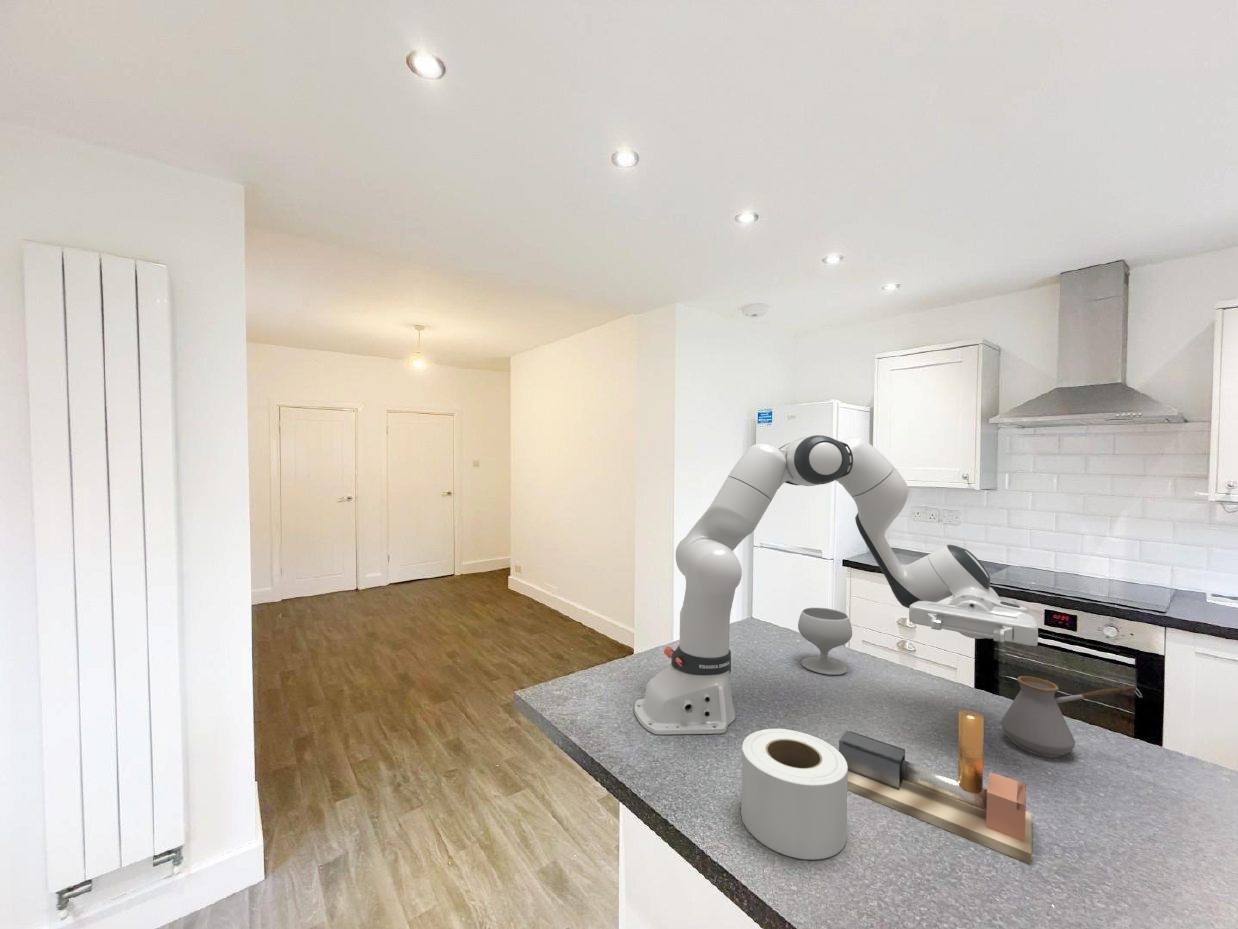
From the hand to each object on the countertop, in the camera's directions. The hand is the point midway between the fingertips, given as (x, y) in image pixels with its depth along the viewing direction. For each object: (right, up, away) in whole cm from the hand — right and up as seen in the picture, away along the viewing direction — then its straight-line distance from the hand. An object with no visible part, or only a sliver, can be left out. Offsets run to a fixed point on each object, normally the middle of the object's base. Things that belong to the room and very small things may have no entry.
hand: (966, 631), depth 90 cm
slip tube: (-10, -23, -10) cm, 27 cm away
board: (-12, -26, -8) cm, 30 cm away
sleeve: (-19, -24, -3) cm, 31 cm away
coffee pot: (+25, -27, +7) cm, 37 cm away
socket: (-4, -24, -15) cm, 29 cm away
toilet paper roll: (-37, -25, -13) cm, 46 cm away
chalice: (-6, -26, +47) cm, 55 cm away
